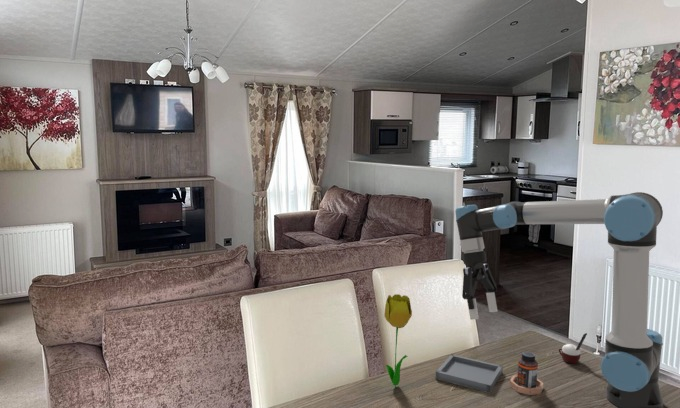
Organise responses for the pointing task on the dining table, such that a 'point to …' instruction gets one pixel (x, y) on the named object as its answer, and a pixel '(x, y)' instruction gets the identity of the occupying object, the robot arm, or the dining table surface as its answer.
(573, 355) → the cocoa
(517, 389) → the holder ring
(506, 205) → the robot arm
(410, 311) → the flower
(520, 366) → the supplement bottle
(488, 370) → the tray
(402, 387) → the dining table surface
